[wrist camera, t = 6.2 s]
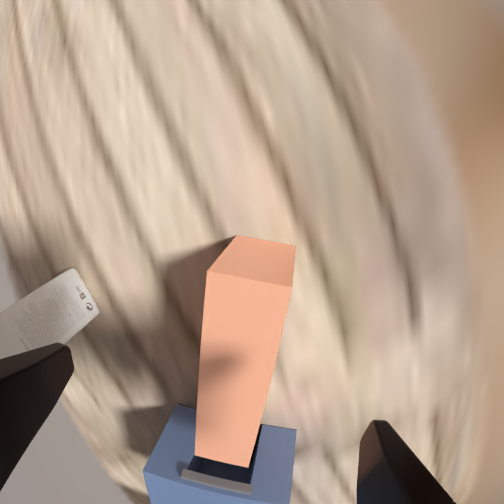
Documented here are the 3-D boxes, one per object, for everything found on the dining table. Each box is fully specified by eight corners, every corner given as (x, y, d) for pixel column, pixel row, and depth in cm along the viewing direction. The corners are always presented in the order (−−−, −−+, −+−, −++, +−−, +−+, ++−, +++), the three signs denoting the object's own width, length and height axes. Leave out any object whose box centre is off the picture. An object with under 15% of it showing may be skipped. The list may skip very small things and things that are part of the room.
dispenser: (279, 471, 25) (269, 535, 18) (178, 449, 26) (151, 507, 19) (297, 426, 22) (290, 503, 15) (177, 400, 23) (142, 467, 16)
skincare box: (74, 263, 21) (-48, 337, 10) (104, 314, 22) (-1, 410, 11) (38, 291, 23) (-62, 357, 11) (64, 334, 24) (-25, 414, 12)
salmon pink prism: (261, 407, 22) (248, 467, 17) (216, 397, 23) (194, 455, 17) (296, 246, 18) (292, 287, 13) (236, 235, 19) (207, 270, 13)
